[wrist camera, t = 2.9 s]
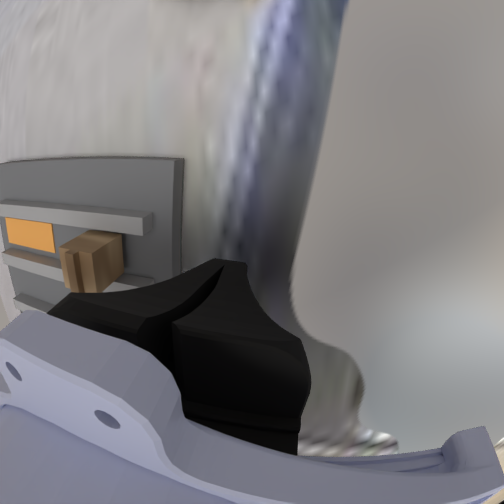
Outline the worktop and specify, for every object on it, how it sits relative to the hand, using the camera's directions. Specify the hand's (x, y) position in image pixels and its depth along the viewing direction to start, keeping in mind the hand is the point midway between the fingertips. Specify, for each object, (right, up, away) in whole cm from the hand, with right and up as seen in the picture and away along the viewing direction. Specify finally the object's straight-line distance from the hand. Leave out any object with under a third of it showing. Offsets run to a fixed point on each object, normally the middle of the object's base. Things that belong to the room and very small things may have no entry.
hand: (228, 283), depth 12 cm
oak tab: (-6, +1, +2) cm, 7 cm away
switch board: (-10, -1, +5) cm, 11 cm away
